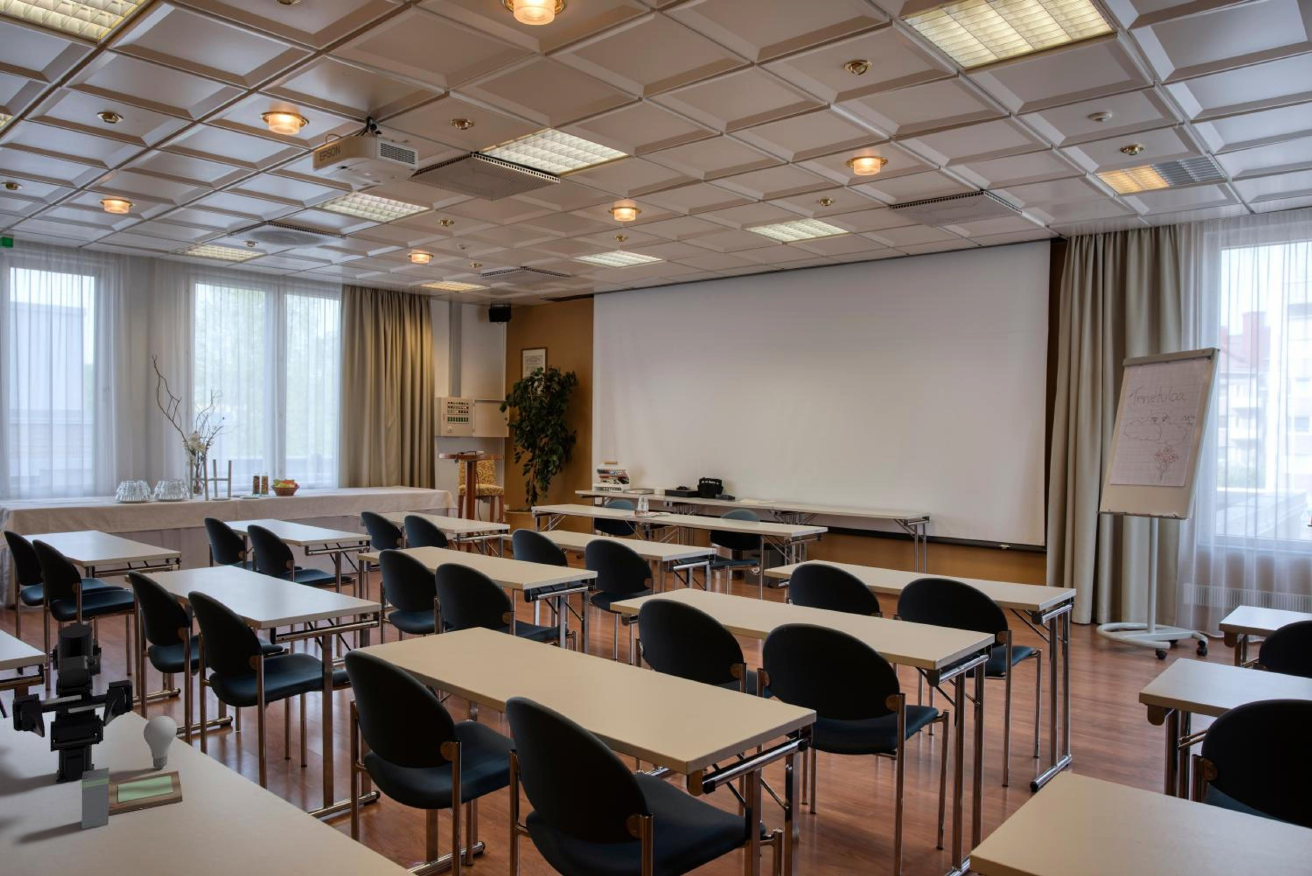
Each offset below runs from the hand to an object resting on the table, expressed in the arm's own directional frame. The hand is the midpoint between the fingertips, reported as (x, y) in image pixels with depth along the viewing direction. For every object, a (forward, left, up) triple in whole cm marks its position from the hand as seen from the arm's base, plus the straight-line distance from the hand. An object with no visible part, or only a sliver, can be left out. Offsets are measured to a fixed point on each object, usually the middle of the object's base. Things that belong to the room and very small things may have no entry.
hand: (74, 729), depth 155 cm
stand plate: (-8, +11, -17) cm, 22 cm away
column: (+1, +3, -17) cm, 18 cm away
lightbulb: (-21, +14, -17) cm, 30 cm away
